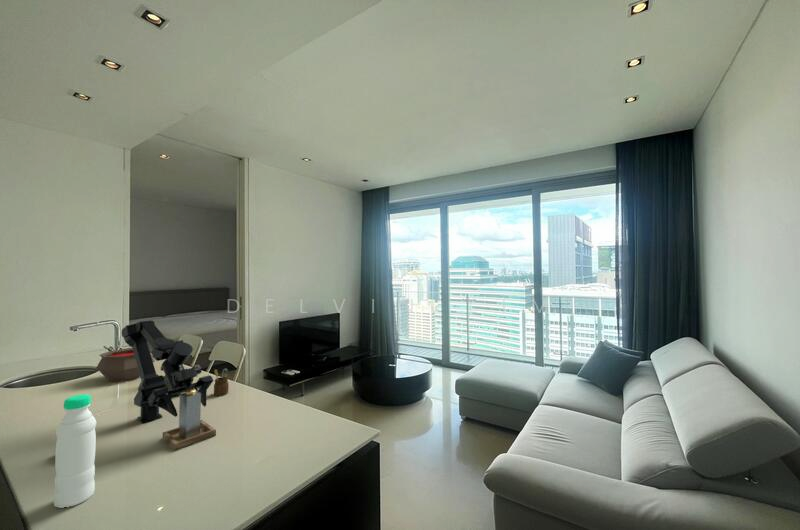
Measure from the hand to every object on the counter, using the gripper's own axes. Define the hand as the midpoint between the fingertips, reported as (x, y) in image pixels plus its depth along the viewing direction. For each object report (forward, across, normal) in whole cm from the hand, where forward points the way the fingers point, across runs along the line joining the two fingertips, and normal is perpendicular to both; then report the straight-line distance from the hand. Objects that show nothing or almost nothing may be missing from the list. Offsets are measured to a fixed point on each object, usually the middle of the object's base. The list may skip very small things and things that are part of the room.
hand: (191, 410), depth 109 cm
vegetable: (-28, +18, +42) cm, 53 cm away
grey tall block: (+5, 0, +7) cm, 9 cm away
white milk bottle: (+12, -30, +2) cm, 33 cm away
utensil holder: (-15, +28, +28) cm, 43 cm away
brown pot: (-61, +16, +75) cm, 98 cm away
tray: (+6, 0, +7) cm, 9 cm away
